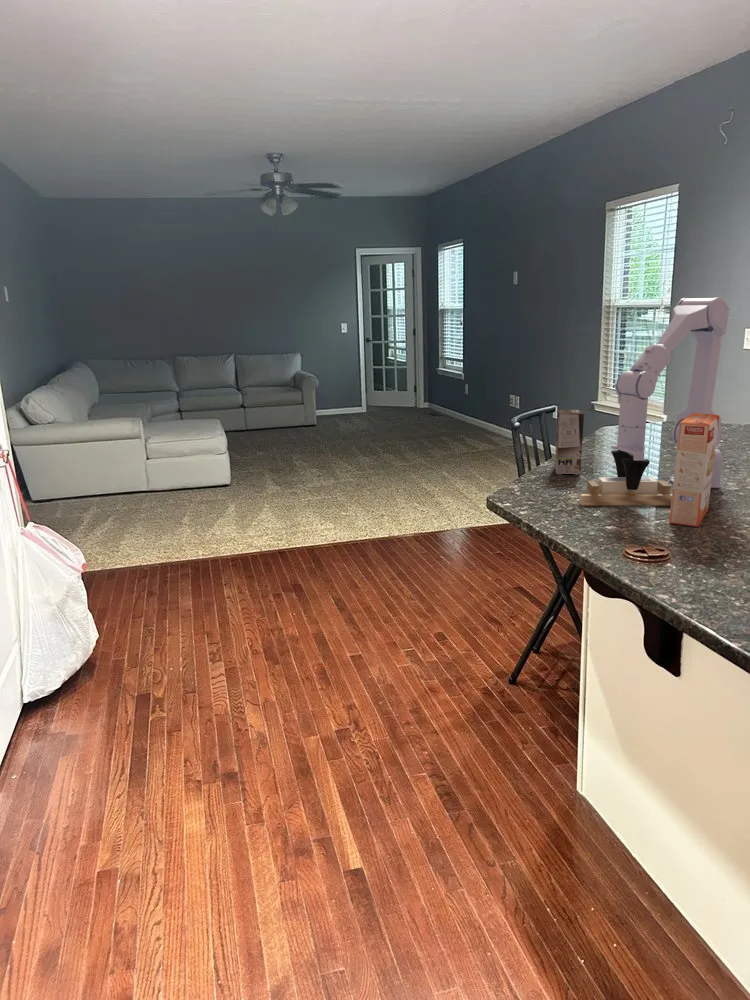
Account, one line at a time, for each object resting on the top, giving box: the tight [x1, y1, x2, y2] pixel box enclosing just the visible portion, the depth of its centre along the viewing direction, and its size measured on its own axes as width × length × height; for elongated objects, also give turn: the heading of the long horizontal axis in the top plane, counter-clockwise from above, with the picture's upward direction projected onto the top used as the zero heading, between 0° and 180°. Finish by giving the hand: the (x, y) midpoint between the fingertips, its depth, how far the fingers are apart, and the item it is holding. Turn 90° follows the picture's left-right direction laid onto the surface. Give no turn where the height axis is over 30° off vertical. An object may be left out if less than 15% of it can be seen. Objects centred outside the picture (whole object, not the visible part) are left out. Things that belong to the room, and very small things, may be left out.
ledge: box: [579, 480, 672, 506], centre depth 158 cm, size 22×7×4 cm, turn 86°
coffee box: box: [554, 408, 585, 476], centre depth 186 cm, size 9×6×16 cm
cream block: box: [597, 476, 659, 494], centre depth 159 cm, size 12×4×5 cm, turn 86°
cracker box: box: [669, 413, 721, 528], centre depth 143 cm, size 14×6×21 cm, turn 148°
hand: (627, 485), depth 159 cm, fingers open, 7 cm apart
